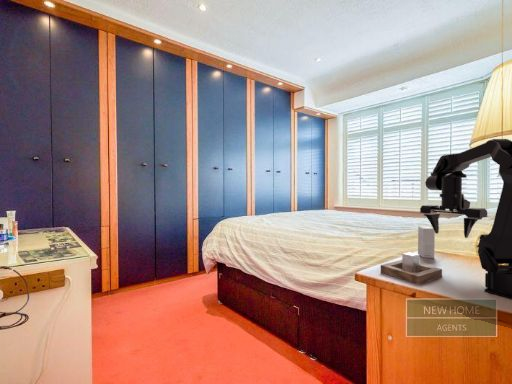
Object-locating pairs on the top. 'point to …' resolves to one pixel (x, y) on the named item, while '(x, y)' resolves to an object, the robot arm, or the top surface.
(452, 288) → the top surface
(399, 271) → the square wooden frame
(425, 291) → the top surface
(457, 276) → the top surface
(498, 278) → the robot arm
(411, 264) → the steel square peg
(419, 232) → the skincare box
